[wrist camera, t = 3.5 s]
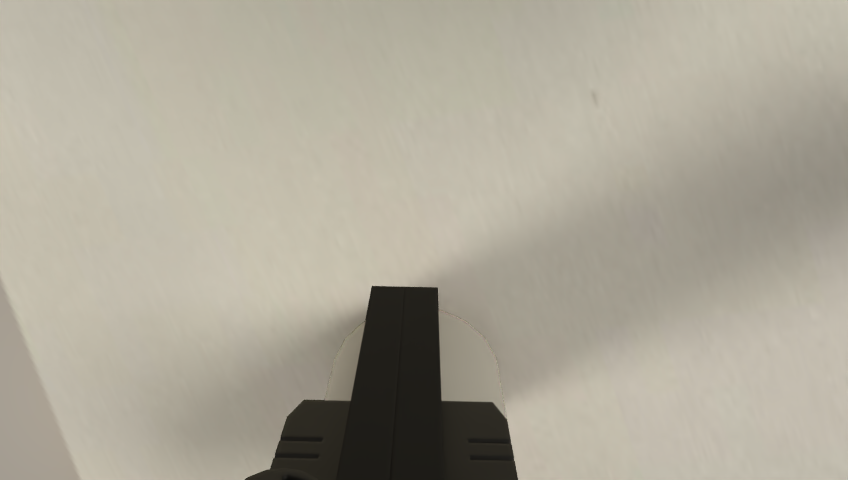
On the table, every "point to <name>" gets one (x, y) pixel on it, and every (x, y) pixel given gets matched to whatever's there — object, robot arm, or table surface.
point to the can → (459, 362)
